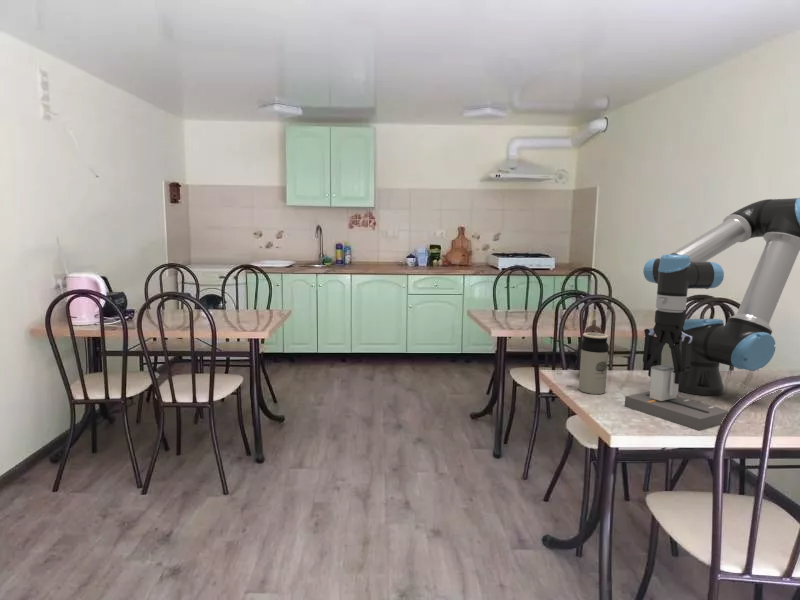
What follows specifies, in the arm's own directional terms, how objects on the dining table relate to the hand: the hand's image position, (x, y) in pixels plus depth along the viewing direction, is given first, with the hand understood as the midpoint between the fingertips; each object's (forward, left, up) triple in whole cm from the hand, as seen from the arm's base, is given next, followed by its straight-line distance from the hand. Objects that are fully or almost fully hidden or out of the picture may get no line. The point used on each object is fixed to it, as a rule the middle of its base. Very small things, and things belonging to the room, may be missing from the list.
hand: (663, 391), depth 156 cm
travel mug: (+3, -22, -6) cm, 23 cm away
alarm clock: (-10, -34, -6) cm, 36 cm away
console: (0, +4, -5) cm, 7 cm away
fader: (0, 0, -2) cm, 2 cm away
